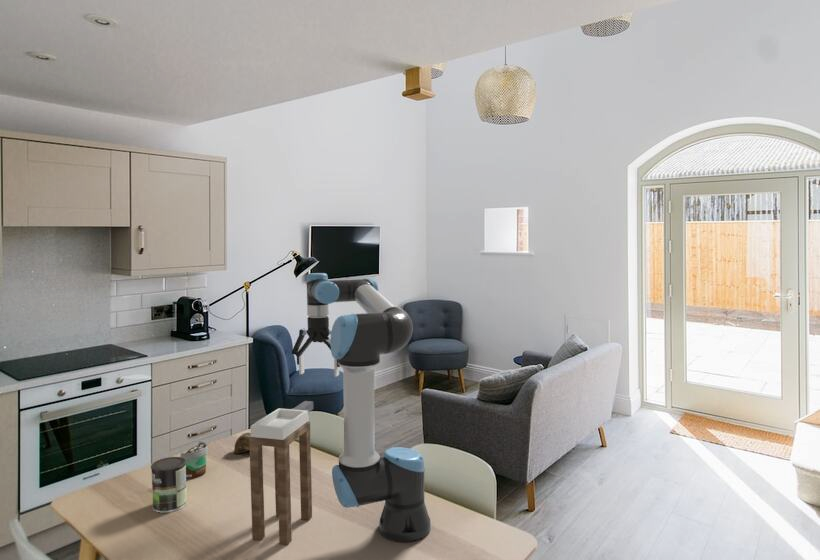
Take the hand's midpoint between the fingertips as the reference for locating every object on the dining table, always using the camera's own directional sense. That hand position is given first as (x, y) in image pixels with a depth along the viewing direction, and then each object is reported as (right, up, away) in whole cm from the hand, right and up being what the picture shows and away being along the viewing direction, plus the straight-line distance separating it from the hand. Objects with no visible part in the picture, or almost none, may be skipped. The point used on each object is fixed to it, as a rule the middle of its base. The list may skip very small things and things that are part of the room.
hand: (319, 374), depth 193 cm
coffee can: (-45, -39, -20) cm, 63 cm away
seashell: (-33, -36, +24) cm, 54 cm away
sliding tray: (-4, -9, -31) cm, 33 cm away
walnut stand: (-5, -39, -34) cm, 53 cm away
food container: (-45, -37, +3) cm, 58 cm away
